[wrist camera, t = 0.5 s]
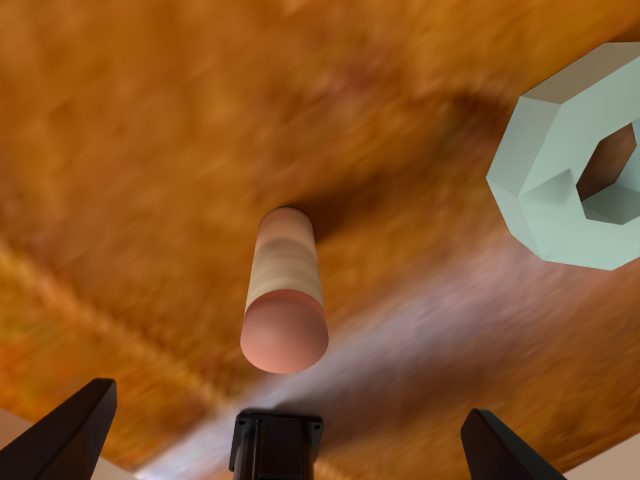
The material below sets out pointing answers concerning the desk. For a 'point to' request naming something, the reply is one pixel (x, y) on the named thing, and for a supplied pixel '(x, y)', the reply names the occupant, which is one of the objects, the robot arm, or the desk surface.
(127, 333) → the desk surface
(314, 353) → the beige cylindrical peg
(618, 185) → the bead
